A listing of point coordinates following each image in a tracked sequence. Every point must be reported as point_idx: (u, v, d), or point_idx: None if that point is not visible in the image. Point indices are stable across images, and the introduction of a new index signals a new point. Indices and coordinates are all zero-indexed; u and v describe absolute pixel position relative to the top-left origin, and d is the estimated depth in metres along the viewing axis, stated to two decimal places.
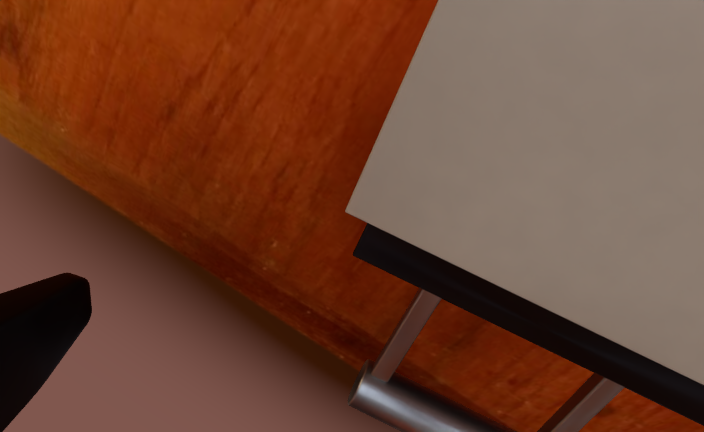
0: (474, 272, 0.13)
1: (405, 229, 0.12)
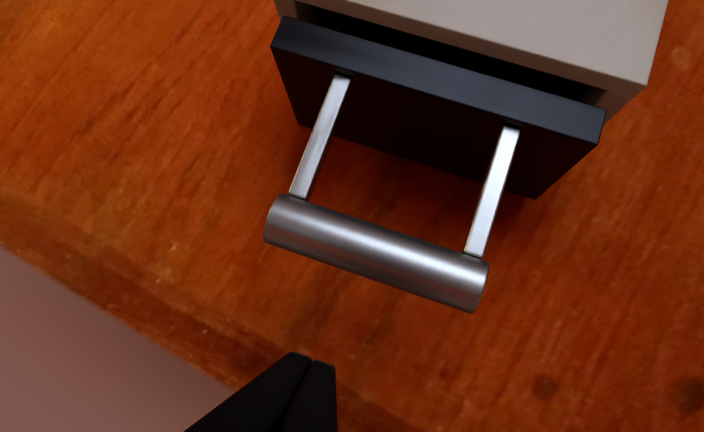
0: (370, 9, 0.16)
1: None
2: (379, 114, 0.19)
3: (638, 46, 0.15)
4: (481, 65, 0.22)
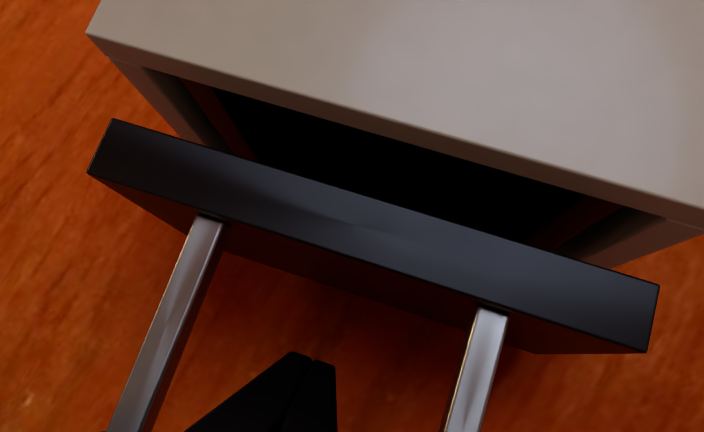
0: (255, 85, 0.09)
1: (162, 39, 0.10)
2: (288, 256, 0.12)
3: None
4: (453, 157, 0.15)
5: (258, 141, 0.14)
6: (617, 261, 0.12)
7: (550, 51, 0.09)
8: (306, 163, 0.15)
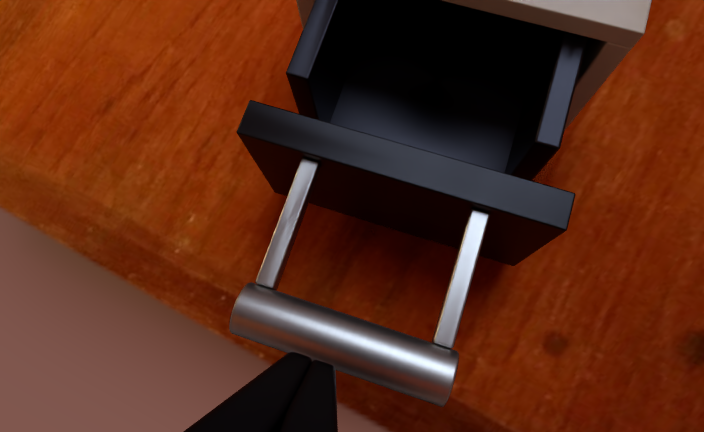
0: None
1: None
2: (350, 190, 0.19)
3: None
4: (456, 131, 0.22)
5: (323, 119, 0.21)
6: (586, 96, 0.20)
7: None
8: None
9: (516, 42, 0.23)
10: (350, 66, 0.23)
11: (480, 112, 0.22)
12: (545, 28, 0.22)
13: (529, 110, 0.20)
